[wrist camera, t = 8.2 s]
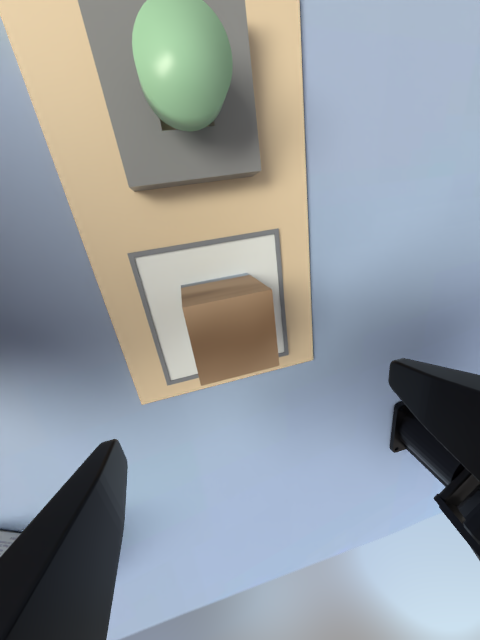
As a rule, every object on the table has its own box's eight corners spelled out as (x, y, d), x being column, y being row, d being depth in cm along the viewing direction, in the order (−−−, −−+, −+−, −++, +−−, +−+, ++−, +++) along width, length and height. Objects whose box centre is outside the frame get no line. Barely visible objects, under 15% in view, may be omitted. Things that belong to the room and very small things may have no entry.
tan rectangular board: (311, 358, 21) (314, 361, 21) (142, 402, 19) (141, 406, 19) (296, -4, 13) (300, -12, 13) (-4, -2, 11) (-11, -11, 10)
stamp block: (254, 332, 19) (279, 365, 14) (194, 345, 18) (201, 385, 14) (246, 272, 17) (271, 289, 13) (180, 285, 16) (182, 307, 12)
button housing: (251, 177, 16) (261, 170, 14) (134, 192, 15) (128, 187, 13) (234, 23, 13) (244, -10, 11) (90, 27, 12) (75, -9, 10)
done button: (224, 140, 13) (238, 113, 10) (155, 147, 13) (148, 121, 10) (211, 51, 12) (224, -12, 9) (134, 54, 12) (117, -12, 8)
